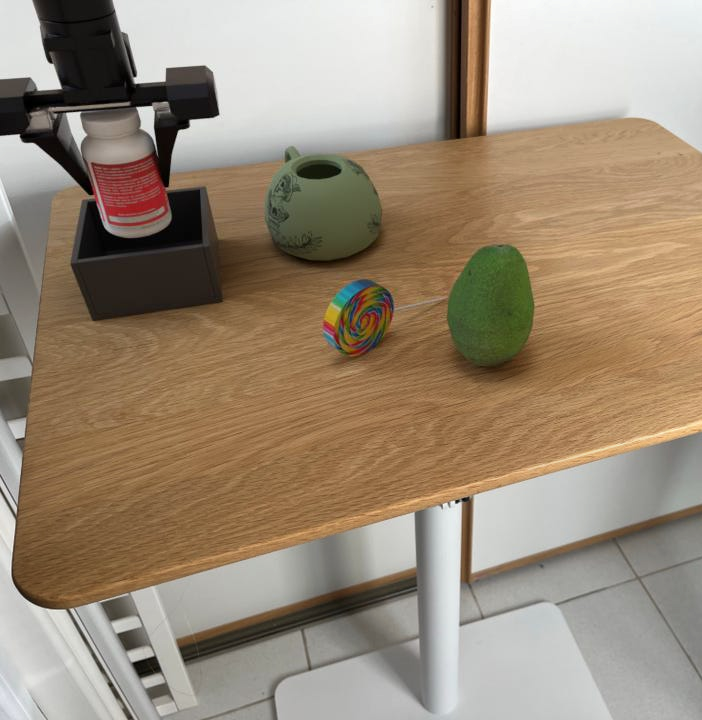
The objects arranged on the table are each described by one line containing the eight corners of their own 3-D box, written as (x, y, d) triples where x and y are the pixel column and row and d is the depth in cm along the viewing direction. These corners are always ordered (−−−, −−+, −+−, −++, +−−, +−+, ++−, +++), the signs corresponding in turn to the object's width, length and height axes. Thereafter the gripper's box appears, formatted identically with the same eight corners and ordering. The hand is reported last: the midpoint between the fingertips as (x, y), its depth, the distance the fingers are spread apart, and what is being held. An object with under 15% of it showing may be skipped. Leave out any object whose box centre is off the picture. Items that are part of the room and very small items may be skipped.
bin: (92, 320, 72) (69, 263, 68) (101, 253, 81) (81, 199, 77) (222, 301, 75) (209, 245, 71) (218, 239, 84) (205, 185, 80)
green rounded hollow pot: (404, 248, 84) (401, 177, 78) (296, 282, 78) (284, 208, 72) (342, 188, 94) (335, 122, 88) (242, 215, 88) (228, 145, 82)
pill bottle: (186, 223, 73) (161, 112, 66) (129, 247, 69) (96, 132, 62) (147, 201, 75) (119, 93, 68) (91, 224, 71) (55, 111, 64)
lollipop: (441, 332, 78) (328, 364, 67) (432, 326, 78) (317, 356, 67) (456, 269, 74) (339, 292, 63) (446, 263, 75) (328, 285, 64)
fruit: (547, 358, 70) (561, 249, 62) (487, 397, 66) (492, 285, 58) (489, 319, 74) (495, 213, 66) (429, 353, 70) (427, 244, 62)
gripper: (197, -20, 68) (229, 143, 78) (-34, -10, 63) (32, 162, 73) (199, 17, 60) (235, 193, 70) (-65, 31, 55) (14, 217, 65)
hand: (130, 189), depth 70 cm, fingers closed on pill bottle, 6 cm apart
